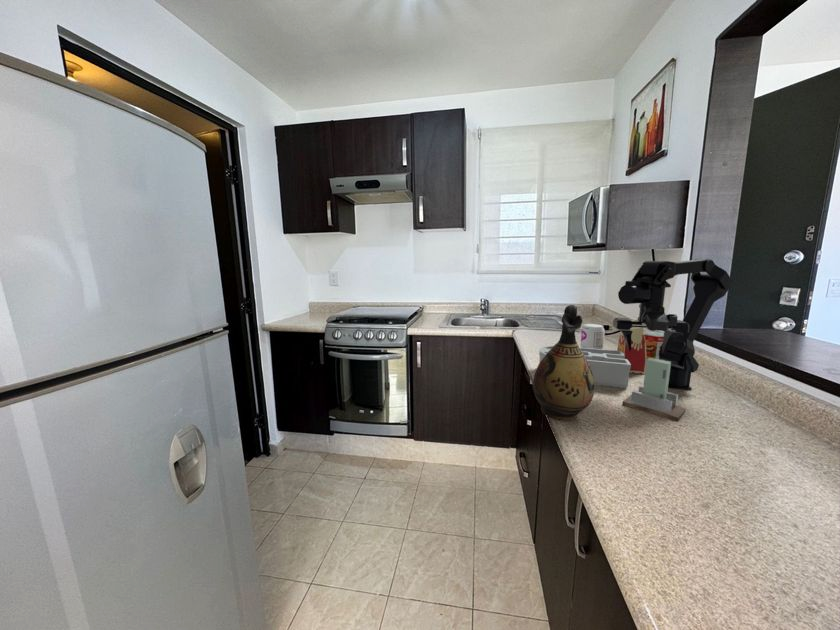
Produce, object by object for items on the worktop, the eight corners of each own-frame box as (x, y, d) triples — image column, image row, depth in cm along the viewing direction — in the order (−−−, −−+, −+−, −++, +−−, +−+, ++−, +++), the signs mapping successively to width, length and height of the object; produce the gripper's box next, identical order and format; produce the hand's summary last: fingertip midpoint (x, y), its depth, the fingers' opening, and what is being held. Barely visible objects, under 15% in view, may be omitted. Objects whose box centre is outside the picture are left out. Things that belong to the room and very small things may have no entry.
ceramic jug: (596, 431, 80) (607, 312, 75) (530, 421, 85) (536, 309, 80) (587, 402, 96) (595, 302, 90) (532, 395, 101) (537, 300, 96)
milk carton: (638, 366, 126) (644, 316, 123) (646, 374, 118) (652, 320, 114) (612, 364, 129) (617, 315, 126) (618, 371, 120) (623, 319, 117)
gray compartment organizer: (628, 390, 105) (631, 364, 103) (537, 378, 115) (538, 355, 114) (619, 373, 120) (621, 350, 118) (539, 364, 130) (540, 344, 129)
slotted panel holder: (622, 404, 94) (623, 390, 93) (631, 396, 99) (633, 383, 98) (677, 421, 84) (680, 405, 83) (685, 411, 89) (687, 396, 88)
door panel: (644, 400, 94) (649, 357, 92) (665, 406, 90) (671, 361, 88) (641, 403, 92) (646, 360, 90) (662, 409, 88) (668, 364, 86)
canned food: (647, 358, 135) (650, 330, 133) (668, 364, 128) (672, 334, 126) (635, 361, 132) (638, 332, 130) (656, 367, 125) (660, 337, 123)
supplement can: (580, 362, 131) (583, 326, 129) (578, 356, 139) (581, 322, 136) (603, 364, 128) (606, 328, 126) (600, 358, 136) (603, 324, 133)
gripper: (624, 305, 94) (619, 356, 96) (702, 307, 88) (694, 362, 91) (614, 300, 104) (610, 346, 107) (684, 302, 98) (677, 351, 101)
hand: (646, 351), depth 101 cm, fingers open, 9 cm apart
